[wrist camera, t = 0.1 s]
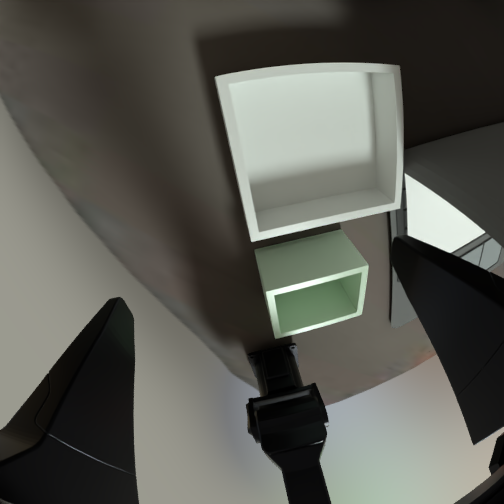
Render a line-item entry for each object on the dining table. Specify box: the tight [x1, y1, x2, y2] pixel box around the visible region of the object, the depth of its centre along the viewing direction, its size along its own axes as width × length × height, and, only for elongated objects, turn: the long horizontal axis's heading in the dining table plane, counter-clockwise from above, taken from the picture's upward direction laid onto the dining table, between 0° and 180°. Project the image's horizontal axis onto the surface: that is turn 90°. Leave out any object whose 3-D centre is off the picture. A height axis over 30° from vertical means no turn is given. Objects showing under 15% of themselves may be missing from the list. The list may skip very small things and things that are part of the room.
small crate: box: [254, 229, 369, 339], centre depth 26 cm, size 6×9×6 cm
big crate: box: [214, 63, 404, 242], centre depth 19 cm, size 12×13×4 cm
